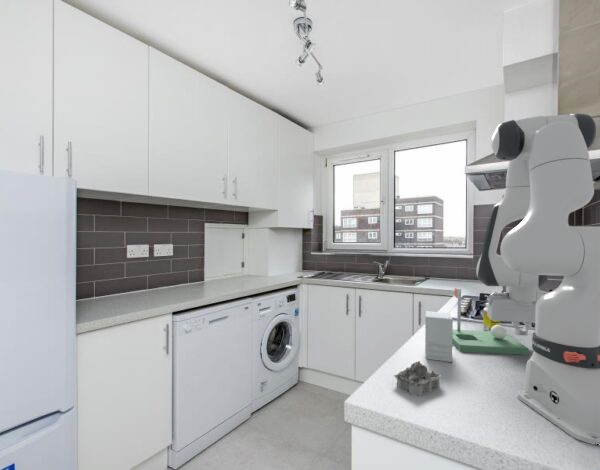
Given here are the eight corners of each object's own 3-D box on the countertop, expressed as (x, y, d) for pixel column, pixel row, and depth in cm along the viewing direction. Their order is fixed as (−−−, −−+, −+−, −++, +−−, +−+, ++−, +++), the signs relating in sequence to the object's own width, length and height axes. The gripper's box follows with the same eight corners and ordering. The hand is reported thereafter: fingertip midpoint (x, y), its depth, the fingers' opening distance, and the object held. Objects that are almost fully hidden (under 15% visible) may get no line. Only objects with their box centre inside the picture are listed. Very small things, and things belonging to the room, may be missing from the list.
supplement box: (450, 353, 97) (451, 312, 97) (452, 363, 90) (453, 319, 90) (424, 350, 100) (425, 310, 100) (424, 358, 93) (425, 316, 93)
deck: (528, 354, 97) (529, 299, 96) (459, 351, 99) (460, 297, 99) (497, 334, 116) (498, 288, 116) (440, 331, 118) (441, 286, 118)
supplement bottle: (490, 333, 117) (490, 305, 117) (479, 328, 123) (480, 302, 123) (503, 332, 118) (504, 305, 118) (492, 327, 124) (493, 301, 123)
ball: (509, 341, 103) (509, 327, 103) (494, 340, 103) (494, 327, 103) (502, 336, 107) (502, 323, 107) (488, 336, 108) (488, 323, 108)
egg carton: (419, 375, 83) (419, 359, 83) (445, 387, 77) (445, 371, 77) (390, 385, 78) (391, 368, 78) (416, 399, 71) (416, 381, 71)
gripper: (492, 294, 102) (492, 336, 102) (562, 296, 100) (561, 340, 100) (484, 290, 109) (483, 330, 109) (549, 292, 106) (548, 333, 106)
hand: (521, 335), depth 104 cm, fingers closed
